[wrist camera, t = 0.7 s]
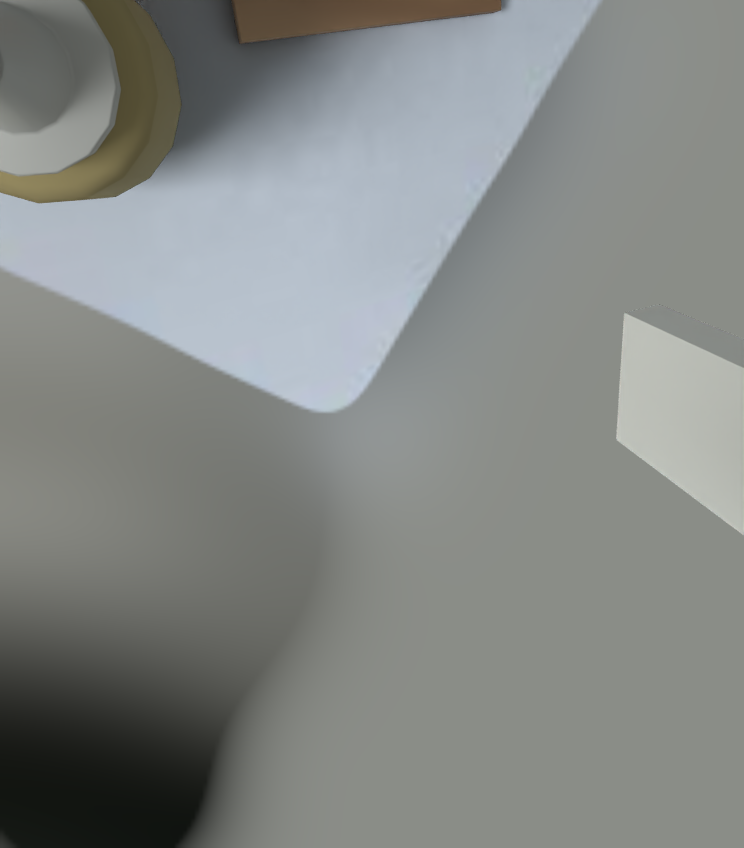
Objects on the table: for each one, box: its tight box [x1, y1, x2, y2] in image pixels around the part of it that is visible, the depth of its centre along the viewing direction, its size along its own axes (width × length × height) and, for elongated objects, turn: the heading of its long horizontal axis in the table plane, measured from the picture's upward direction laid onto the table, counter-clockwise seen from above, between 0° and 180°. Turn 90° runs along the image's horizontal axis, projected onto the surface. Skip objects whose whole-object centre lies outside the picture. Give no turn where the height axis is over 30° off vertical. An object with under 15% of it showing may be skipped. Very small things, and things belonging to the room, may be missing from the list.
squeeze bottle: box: [0, 0, 182, 203], centre depth 20 cm, size 8×8×18 cm
